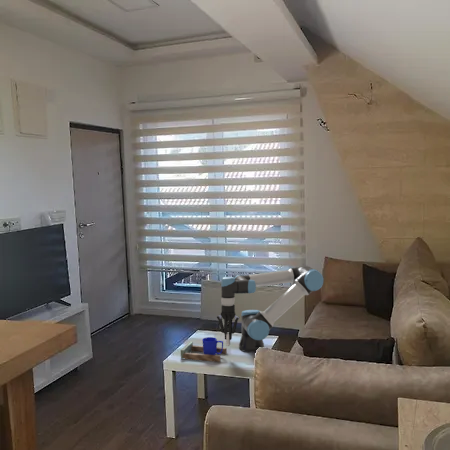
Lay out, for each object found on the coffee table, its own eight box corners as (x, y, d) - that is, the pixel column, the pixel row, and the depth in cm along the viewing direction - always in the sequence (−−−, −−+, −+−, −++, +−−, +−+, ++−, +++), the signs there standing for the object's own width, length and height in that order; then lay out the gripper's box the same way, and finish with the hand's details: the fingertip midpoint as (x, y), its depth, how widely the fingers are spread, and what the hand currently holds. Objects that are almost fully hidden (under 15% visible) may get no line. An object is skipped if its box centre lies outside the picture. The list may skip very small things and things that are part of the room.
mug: (221, 359, 267) (221, 342, 266) (201, 358, 269) (200, 341, 268) (224, 354, 275) (224, 337, 274) (204, 353, 277) (204, 336, 276)
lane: (226, 352, 278) (226, 344, 277) (219, 361, 263) (219, 353, 263) (189, 349, 284) (189, 341, 283) (180, 358, 269) (180, 350, 269)
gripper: (240, 303, 269) (240, 343, 271) (218, 302, 272) (219, 342, 274) (237, 306, 262) (237, 348, 263) (215, 305, 265) (215, 346, 267)
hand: (228, 345), depth 269 cm, fingers closed
